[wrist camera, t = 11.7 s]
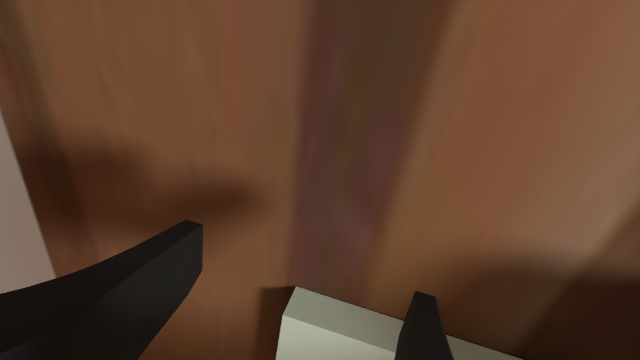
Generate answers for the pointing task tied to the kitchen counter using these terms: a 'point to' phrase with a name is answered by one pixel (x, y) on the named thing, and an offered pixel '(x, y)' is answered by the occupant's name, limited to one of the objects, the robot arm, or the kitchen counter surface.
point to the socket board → (351, 333)
